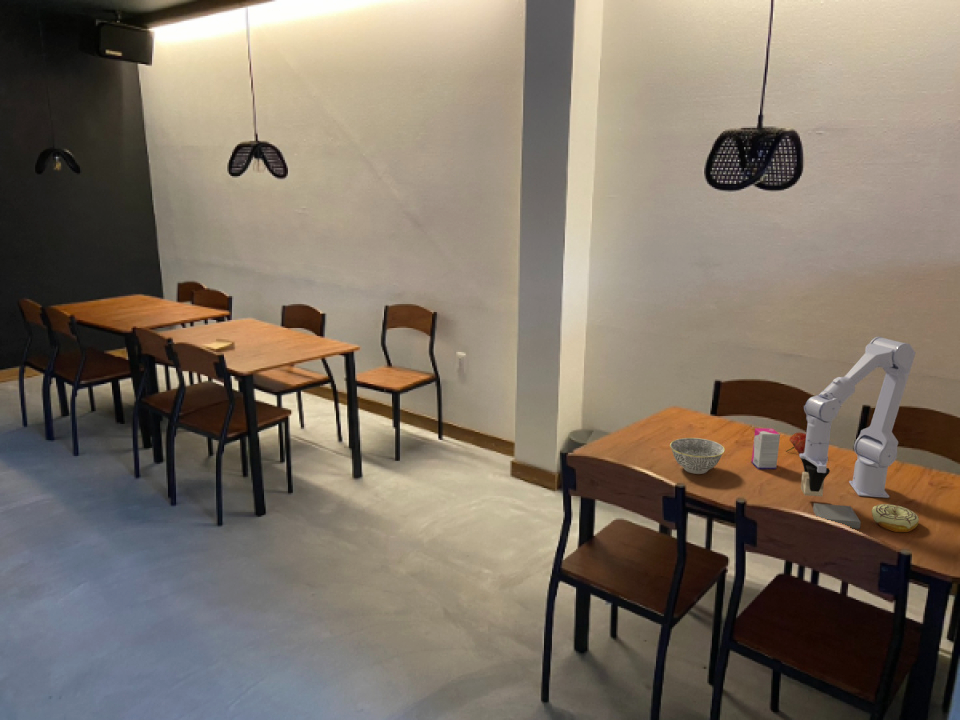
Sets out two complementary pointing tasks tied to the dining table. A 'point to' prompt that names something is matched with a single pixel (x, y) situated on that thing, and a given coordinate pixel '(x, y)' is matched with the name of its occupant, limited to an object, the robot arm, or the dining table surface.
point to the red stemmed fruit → (798, 442)
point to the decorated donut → (895, 517)
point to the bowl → (696, 454)
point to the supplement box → (765, 448)
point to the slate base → (837, 514)
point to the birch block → (806, 486)
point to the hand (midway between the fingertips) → (812, 486)
